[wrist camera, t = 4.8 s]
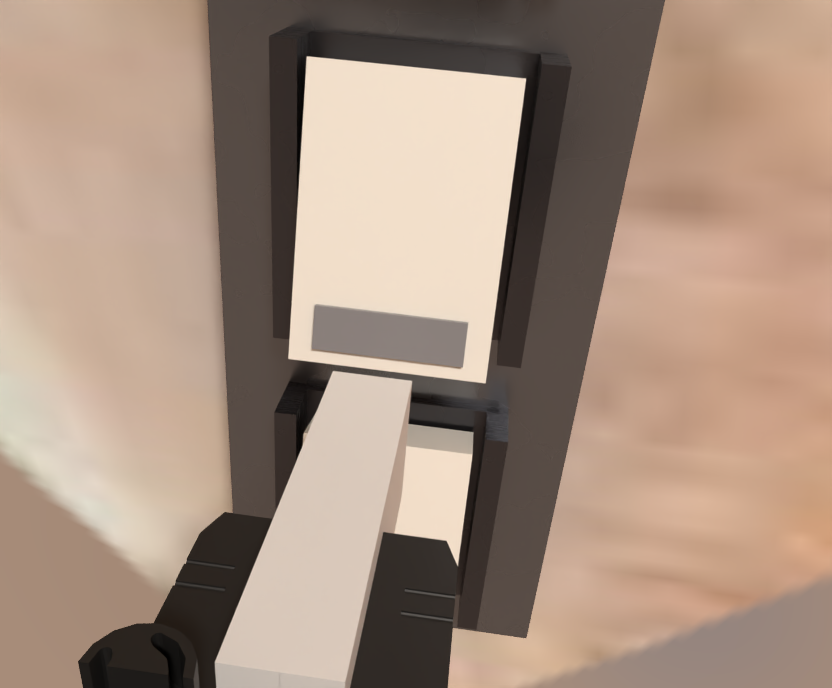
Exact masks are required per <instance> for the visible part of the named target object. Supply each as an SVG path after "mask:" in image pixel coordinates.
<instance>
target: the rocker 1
mask: <svg viewBox="0 0 832 688" xmlns="http://www.w3.org/2000/svg"><path fill="white" fill-rule="evenodd" d="M525 84H526V79H525V78H515V77H505V76H496V75H486V74H476V73H466V72H456V71H446V70H437V69H427V68H417V67H407V66H397V65H388V64H378V63H368V62H358V61H348V60H338V59H329V58H319V57H309V56H307V61H306V77H305V94H304V110H303V126H302V143H301V159H300V175H299V192H298V208H297V224H296V241H295V257H294V274H293V290H292V306H291V323H290V339H289V355H288V359H293V360H301V361H310V362H318V363H326V364H334V365H342V366H350V367H358V368H366V369H374V370H382V371H390V372H398V373H406V374H414V375H422V376H430V377H438V378H446V379H454V380H462V381H470V382H478V383H486V377H487V369H488V362H489V354H490V347H491V339H492V332H493V324H494V317H495V309H496V302H497V294H498V287H499V279H500V272H501V264H502V257H503V249H504V242H505V234H506V227H507V219H508V212H509V204H510V197H511V189H512V182H513V174H514V167H515V159H516V152H517V144H518V137H519V129H520V122H521V114H522V107H523V99H524V92H525Z"/></svg>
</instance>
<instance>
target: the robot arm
mask: <svg viewBox="0 0 832 688" xmlns="http://www.w3.org/2000/svg"><path fill="white" fill-rule="evenodd" d="M411 389H412V381H409V380H401V379H393V378H385V377H377V376H369V375H361V374H353V373H345V372H337V371H333V372H332V375H331V377H330V380H329V382H328V385H327V387H326V390H325V392H324V394H323V397H322V399H321V402H320V404H319V407H318V409H317V412H316V414H315V417H314V419H313V422H312V424H311V426H310V429H309V431H308V434H307V436H306V439H305V441H304V444H303V446H302V449H301V451H300V454H299V456H298V459H297V461H296V463H295V466H294V468H293V471H292V473H291V476H290V478H289V481H288V483H287V486H286V488H285V491H284V493H283V495H282V498H281V500H280V503H279V505H278V508H277V510H276V513H275V515H274V518H273V519H271V518H264V517H256V516H249V515H242V514H235V513H227V512H224V513H223V514H222V515H221V516H220V517H218V518H217V519H216V520H215V521H214V522H213V523H211V524H210V525H209V526H208V527H207V528H205V529H204V530H203V531H202V532H201V533H200V534H199V536H198V538H197V540H196V542H195V544H194V546H193V548H192V550H191V552H190V554H189V556H188V558H187V562H186V564H184V565H183V567H182V569H181V571H180V573H179V575H178V577H177V579H176V583H175V586H173V587H172V589H171V590H170V592H169V594H168V596H167V598H166V600H165V602H164V604H163V606H162V608H161V610H160V612H159V614H158V616H157V618H156V620H155V622H154V623H151V624H150V623H149V624H134V625H131V626H128V627H125V628H121V629H118V630H115V631H113V632H111V633H109V634H108V635H106V636H105V637H103V638H102V639H100V640H99V641H97V642H96V643H94V644H93V645H92V646H91V647H90V648H89V649H88V651H87V652H86V653H85V654H84V655H83V656H82V658H81V659H80V660H79V661H78V663H79V669H80V674H81V679H82V684H83V688H447V687H448V676H449V664H450V653H451V641H452V629H453V618H454V606H455V595H456V583H457V571H458V566H457V564H456V561H455V559H454V557H453V554H452V552H451V550H450V547H449V545H448V543H447V541H445V540H438V539H430V538H423V537H416V536H409V535H401V534H394V533H395V528H396V523H397V517H398V512H399V507H400V502H401V497H402V488H403V477H404V466H405V455H406V444H407V433H408V422H409V411H410V400H411Z"/></svg>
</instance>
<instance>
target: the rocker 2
mask: <svg viewBox="0 0 832 688" xmlns="http://www.w3.org/2000/svg"><path fill="white" fill-rule="evenodd" d="M315 414H316V413H315ZM314 417H315V415H314ZM314 417H313V418H312V420H311V422H310V423H309V425H308V426H307V428H306V430H305V431H304V434H303V444H304V441H305V439H306V436H307V434H308V431H309V429H310V426H311V424H312V422H313V419H314ZM472 455H473V432H467V431H460V430H452V429H444V428H436V427H428V426H421V425H413V424H408V433H407V444H406V455H405V466H404V477H403V488H402V497H401V502H400V507H399V512H398V517H397V523H396V528H395V533H394V534H401V535H409V536H416V537H423V538H430V539H438V540H445V541H447V543H448V545H449V547H450V550H451V552H452V554H453V557H454V559H455V561H456V564H457V566H458V561H459V553H460V546H461V538H462V531H463V523H464V515H465V508H466V500H467V493H468V485H469V477H470V470H471V462H472Z"/></svg>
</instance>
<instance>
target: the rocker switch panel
mask: <svg viewBox="0 0 832 688" xmlns="http://www.w3.org/2000/svg"><path fill="white" fill-rule="evenodd" d="M664 2H665V0H208V20H209V40H210V60H211V81H212V101H213V121H214V141H215V161H216V181H217V201H218V221H219V241H220V261H221V281H222V301H223V321H224V341H225V361H226V381H227V401H228V422H229V442H230V462H231V482H232V502H233V513H235V514H242V515H249V516H256V517H264V518H271V519H273V518H274V515H275V513H276V510H277V508H278V505H279V503H280V500H281V498H282V495H283V493H284V491H285V488H286V486H287V483H288V481H289V478H290V476H291V473H292V471H293V468H294V466H295V463H296V461H297V459H298V456H299V454H300V451H301V449H302V446H303V434H304V431H305V430H306V428H307V426H308V425H309V423H310V422H311V420H312V418H313V417H314V415H315V413H316V412H317V409H318V407H319V404H320V402H321V399H322V397H323V394H324V392H325V390H326V387H327V385H328V382H329V380H330V377H331V375H332V372H333V371H337V372H345V373H353V374H361V375H369V376H377V377H385V378H393V379H401V380H409V381H412V389H411V400H410V411H409V422H408V424H413V425H421V426H428V427H436V428H444V429H452V430H460V431H467V432H473V455H472V462H471V470H470V477H469V485H468V493H467V500H466V508H465V515H464V523H463V531H462V538H461V546H460V553H459V561H458V571H457V583H456V595H455V606H454V618H453V628H458V629H465V630H472V631H479V632H486V633H493V634H500V635H507V636H514V637H521V638H526V637H527V632H528V628H529V623H530V619H531V614H532V609H533V605H534V600H535V596H536V591H537V586H538V582H539V577H540V573H541V568H542V563H543V559H544V554H545V550H546V545H547V540H548V536H549V531H550V527H551V522H552V517H553V513H554V508H555V504H556V499H557V494H558V490H559V485H560V481H561V476H562V471H563V467H564V462H565V458H566V453H567V448H568V444H569V439H570V435H571V430H572V425H573V421H574V416H575V412H576V407H577V402H578V398H579V393H580V388H581V384H582V379H583V375H584V370H585V365H586V361H587V356H588V352H589V347H590V342H591V338H592V333H593V329H594V324H595V319H596V315H597V310H598V306H599V301H600V296H601V292H602V287H603V283H604V278H605V273H606V269H607V264H608V260H609V255H610V250H611V246H612V241H613V237H614V232H615V227H616V223H617V218H618V214H619V209H620V204H621V200H622V195H623V191H624V186H625V181H626V177H627V172H628V168H629V163H630V158H631V154H632V149H633V145H634V140H635V135H636V131H637V126H638V122H639V117H640V112H641V108H642V103H643V99H644V94H645V89H646V85H647V80H648V76H649V71H650V66H651V62H652V57H653V52H654V48H655V43H656V39H657V34H658V29H659V25H660V20H661V16H662V11H663V6H664ZM307 56H309V57H319V58H329V59H338V60H348V61H358V62H368V63H378V64H388V65H397V66H407V67H417V68H427V69H437V70H446V71H456V72H466V73H476V74H486V75H496V76H505V77H515V78H525V79H526V84H525V92H524V99H523V107H522V114H521V122H520V129H519V137H518V144H517V152H516V159H515V167H514V174H513V182H512V189H511V197H510V204H509V212H508V219H507V227H506V234H505V242H504V249H503V257H502V264H501V272H500V279H499V287H498V294H497V302H496V309H495V317H494V324H493V332H492V339H491V347H490V354H489V362H488V369H487V377H486V383H478V382H470V381H462V380H454V379H446V378H438V377H430V376H422V375H414V374H406V373H398V372H390V371H382V370H374V369H366V368H358V367H350V366H342V365H334V364H326V363H318V362H310V361H301V360H293V359H288V355H289V339H290V323H291V306H292V290H293V274H294V257H295V241H296V224H297V208H298V192H299V175H300V159H301V143H302V126H303V110H304V94H305V77H306V61H307Z"/></svg>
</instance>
